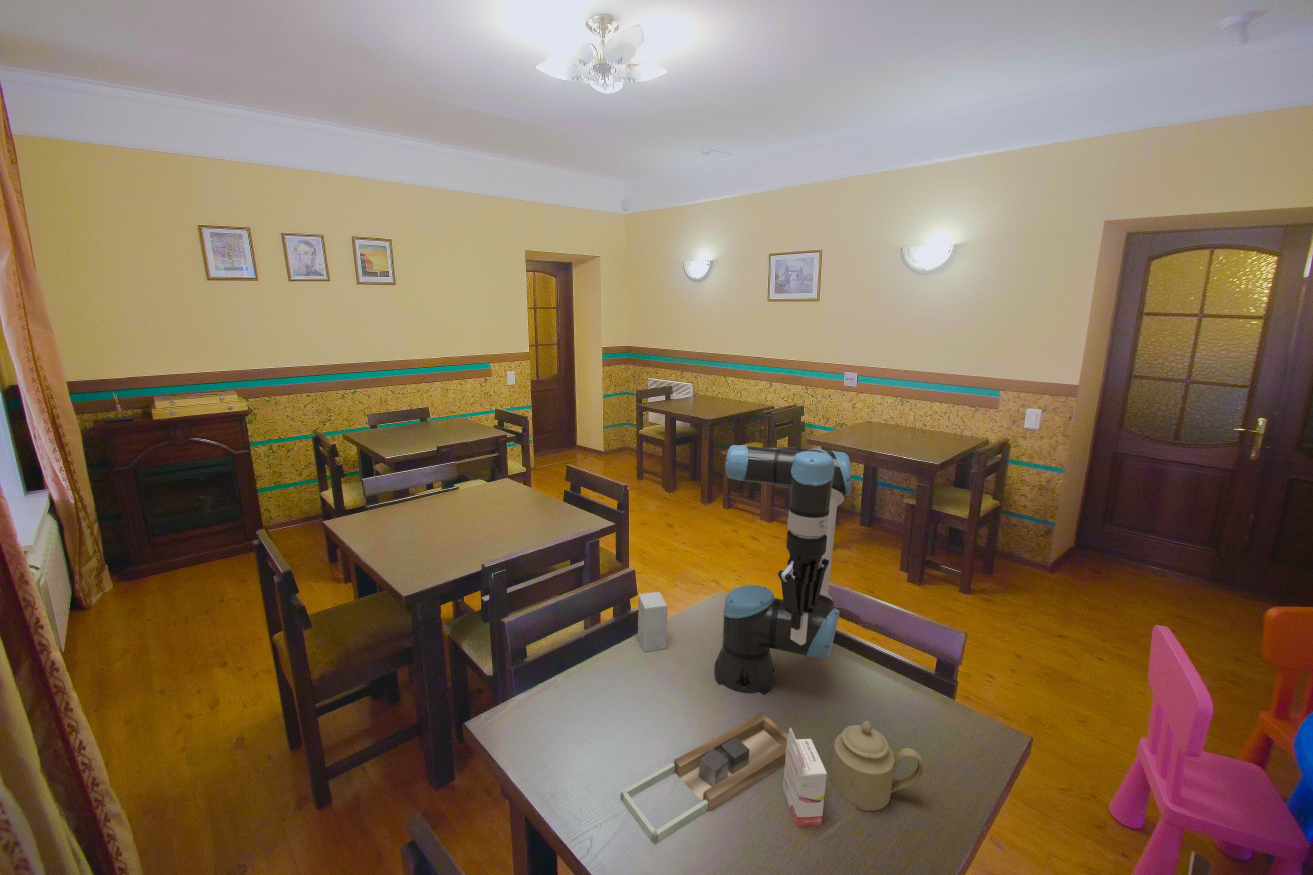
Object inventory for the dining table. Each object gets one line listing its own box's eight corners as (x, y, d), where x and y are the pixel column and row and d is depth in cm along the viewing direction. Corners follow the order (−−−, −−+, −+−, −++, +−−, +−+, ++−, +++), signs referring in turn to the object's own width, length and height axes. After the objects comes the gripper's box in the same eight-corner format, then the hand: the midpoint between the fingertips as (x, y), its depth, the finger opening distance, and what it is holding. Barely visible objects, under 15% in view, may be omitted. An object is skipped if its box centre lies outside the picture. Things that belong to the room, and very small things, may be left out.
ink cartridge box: (823, 829, 100) (830, 759, 97) (795, 830, 99) (802, 761, 96) (806, 789, 108) (812, 723, 105) (781, 790, 108) (786, 724, 104)
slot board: (673, 774, 111) (674, 759, 110) (760, 725, 124) (761, 712, 124) (709, 815, 102) (710, 799, 101) (798, 757, 116) (799, 743, 115)
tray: (620, 802, 105) (620, 791, 104) (672, 773, 111) (672, 762, 111) (654, 848, 96) (654, 836, 95) (708, 813, 103) (708, 802, 102)
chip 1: (698, 776, 109) (699, 759, 108) (711, 765, 112) (712, 748, 111) (714, 788, 107) (715, 771, 106) (727, 776, 109) (728, 759, 108)
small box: (666, 649, 152) (668, 605, 149) (644, 652, 150) (644, 608, 147) (659, 632, 159) (660, 590, 156) (637, 635, 158) (637, 593, 155)
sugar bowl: (890, 760, 115) (898, 697, 112) (921, 807, 105) (931, 738, 101) (821, 767, 114) (827, 702, 110) (845, 814, 103) (853, 745, 99)
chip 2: (719, 762, 113) (720, 745, 112) (734, 753, 115) (735, 736, 114) (733, 775, 110) (734, 758, 109) (748, 766, 112) (749, 749, 111)
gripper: (801, 546, 102) (791, 661, 107) (844, 530, 109) (833, 639, 115) (769, 533, 108) (762, 642, 113) (812, 519, 115) (803, 622, 120)
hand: (798, 640), depth 114 cm, fingers closed
